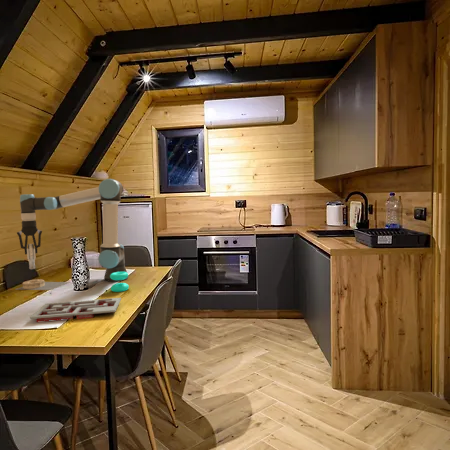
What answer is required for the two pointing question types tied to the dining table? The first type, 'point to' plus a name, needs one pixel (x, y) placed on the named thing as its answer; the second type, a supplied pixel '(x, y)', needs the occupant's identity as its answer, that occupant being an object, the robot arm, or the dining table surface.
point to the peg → (31, 256)
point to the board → (47, 286)
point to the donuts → (119, 286)
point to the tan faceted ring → (33, 284)
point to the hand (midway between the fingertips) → (31, 259)
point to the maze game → (75, 309)
